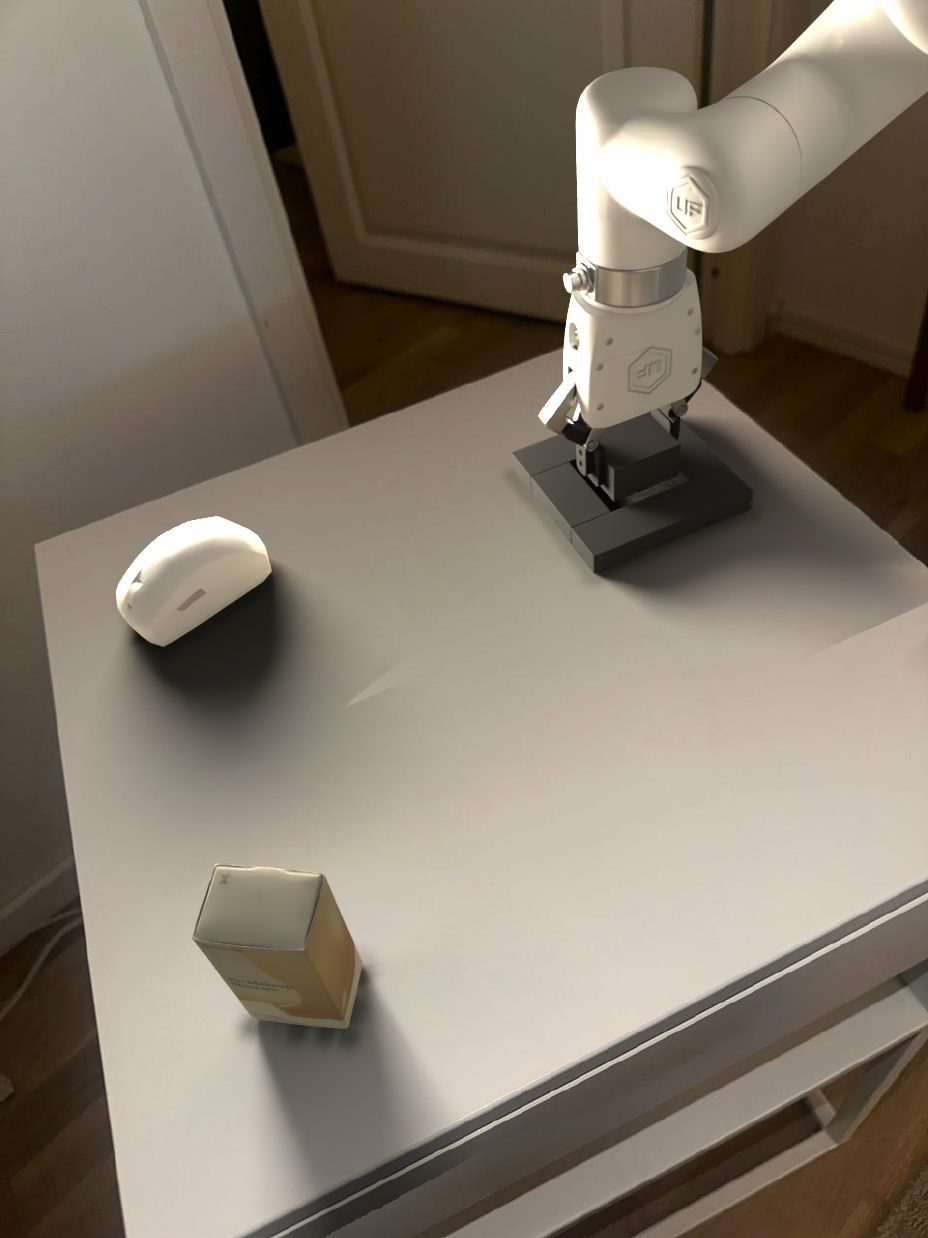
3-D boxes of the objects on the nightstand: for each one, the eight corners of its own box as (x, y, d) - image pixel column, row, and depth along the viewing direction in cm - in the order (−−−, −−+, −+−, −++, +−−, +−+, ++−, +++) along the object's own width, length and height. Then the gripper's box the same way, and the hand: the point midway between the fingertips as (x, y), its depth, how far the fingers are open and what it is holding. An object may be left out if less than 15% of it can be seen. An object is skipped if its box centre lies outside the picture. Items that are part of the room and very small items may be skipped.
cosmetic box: (250, 1020, 57) (182, 940, 48) (269, 949, 60) (208, 860, 51) (354, 1032, 56) (305, 952, 47) (368, 959, 59) (325, 870, 50)
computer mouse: (117, 616, 81) (86, 565, 76) (244, 534, 86) (222, 481, 81) (155, 657, 77) (125, 606, 72) (285, 569, 82) (265, 515, 77)
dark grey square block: (640, 435, 85) (641, 404, 82) (678, 475, 81) (680, 444, 78) (577, 460, 84) (577, 429, 81) (613, 501, 80) (614, 470, 77)
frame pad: (656, 413, 90) (657, 396, 88) (751, 508, 81) (754, 490, 79) (512, 469, 87) (511, 452, 86) (594, 574, 78) (593, 556, 76)
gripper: (548, 331, 64) (558, 525, 78) (767, 252, 67) (740, 451, 81) (500, 281, 69) (517, 472, 82) (707, 210, 72) (691, 405, 86)
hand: (627, 460), depth 82 cm, fingers closed on dark grey square block, 6 cm apart
